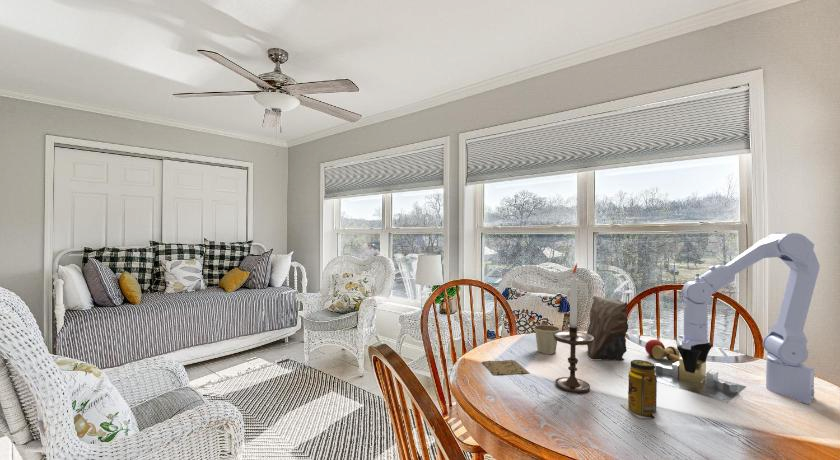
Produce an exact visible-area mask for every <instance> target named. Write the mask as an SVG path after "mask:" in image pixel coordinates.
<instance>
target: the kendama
mask: <svg viewBox="0 0 840 460" xmlns="http://www.w3.org/2000/svg"><path fill="white" fill-rule="evenodd" d="M644 348H645V351H646V353H647V354H648V355H649V356H650V357H652V358H655V359H656V360H662V359H664V358H666V359H667V361H671V362H674V363H675V362H677V361H679V359H680V358H682V357H681V356H680V353H679V351H678V349H677V347H675V346H671V345H669V346H667V347H665V345H664V344H663V342H661V341H660V340H659V339H650V340H647V341H646V343H645V347H644Z"/></svg>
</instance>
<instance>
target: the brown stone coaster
mask: <svg viewBox="0 0 840 460" xmlns="http://www.w3.org/2000/svg"><path fill="white" fill-rule="evenodd" d="M481 364H482V365H483V366H484V367H485V368H486V369H487V371H488V372H489V373H490V374H491V375H492V376H510V375H511V376H512V375H515V376H516V375H530V372H529V370H527V369H526V368H524V366H522V365H521V364H519V363H518V362H517V361H516V360H514V359H506V360H505V359H504V360H486V361H481Z"/></svg>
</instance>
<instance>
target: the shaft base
mask: <svg viewBox="0 0 840 460" xmlns="http://www.w3.org/2000/svg"><path fill="white" fill-rule="evenodd" d="M654 366H655V375H656V377H657V383H661V384H664V385H667V386H670V387H673V388H676V389H680V390H683V391H687V392H690V393H695V394H698V395H700V396H704V397H708V398H710V399H714V400H718V401H720V402H723V403H729V402H730V401H731V400H733V398H735V397H736V396H737V395H738V394H739V393H741V392H742V391H743V390H744V389H745V388H746V387H747V386H745V385H741V384H739V383H735V382H732V381H727V380H723V379H720V378H719V371H718V370H714V369H710V370H709V371H706V381H705V382H703V383H702V384H700V383H697V382H693V381H690V380H686V379H682V378H679V361H677V362H674V363H672V364H671V366H669V365H666V364H663V363H657V362H656V363H654Z"/></svg>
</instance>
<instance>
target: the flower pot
mask: <svg viewBox="0 0 840 460" xmlns="http://www.w3.org/2000/svg"><path fill="white" fill-rule="evenodd" d="M532 327H533V329H534V334H535V340H536V347H537V352H538V353H542V354H544V353H545V355H553V354H555V353H556V351H557V345H558V341H556V340H555V339H553V333H554V332H556V331H562V329H561V328H560V327H558V326H555V325H550V324H537V325H533V326H532Z"/></svg>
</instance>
